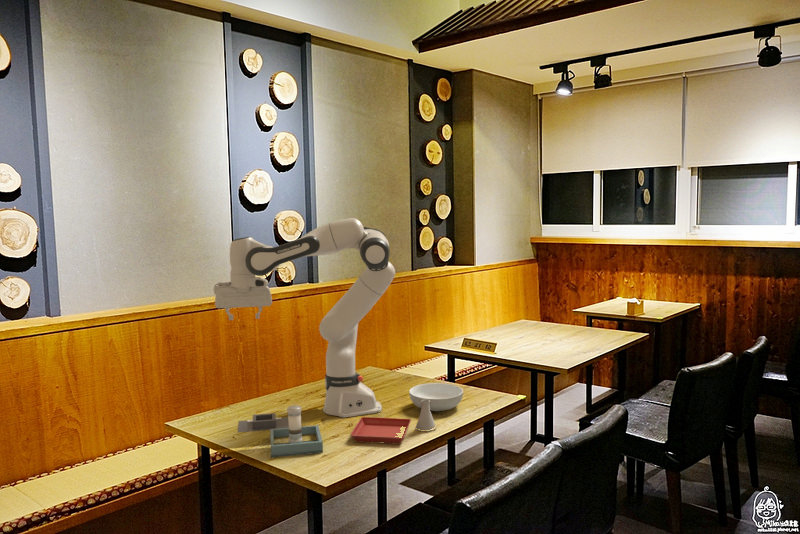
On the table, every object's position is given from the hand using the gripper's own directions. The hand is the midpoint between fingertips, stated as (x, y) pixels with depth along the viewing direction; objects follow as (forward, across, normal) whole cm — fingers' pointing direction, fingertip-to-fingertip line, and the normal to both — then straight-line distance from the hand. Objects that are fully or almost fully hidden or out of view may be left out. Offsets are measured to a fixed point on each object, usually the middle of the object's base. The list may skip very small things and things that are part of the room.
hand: (244, 319), depth 227 cm
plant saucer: (+38, +45, -30) cm, 66 cm away
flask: (+37, +61, -28) cm, 77 cm away
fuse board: (+37, +6, -12) cm, 39 cm away
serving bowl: (+38, +71, -6) cm, 81 cm away
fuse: (+36, +16, -33) cm, 52 cm away
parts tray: (+37, +16, -33) cm, 52 cm away
